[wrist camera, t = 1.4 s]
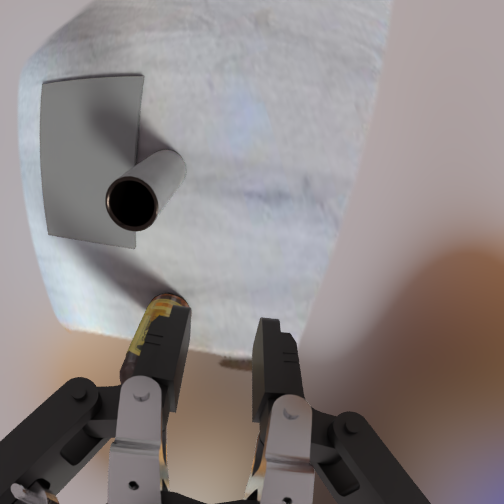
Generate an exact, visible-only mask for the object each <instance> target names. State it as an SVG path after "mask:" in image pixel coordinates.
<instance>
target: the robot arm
mask: <svg viewBox="0 0 504 504" xmlns="http://www.w3.org/2000/svg"><path fill="white" fill-rule="evenodd" d="M190 328H191V308H190V307H184V306H178V305H173V306H172V309H171V313H170V316H169V317H166V316H161V315H159V316H158V317H157V318H156V319H154V320H153V321H152V322H151V324H150V326H149V329H148V332H147V335H146V338H145V340H144V343H143V346H142V349H141V352H140V355H139V358H138V361H137V364H136V367H135V370H134V373H133V375H132V376H131V378H129V379H128V380H126V381H125V382H124V383H123V384H121V385H118V386H109V387H96V385H95V384H94V383H93V382H92V381H91V380H89V379H87V378H83V377H77V378H73V379H70V380H69V381H67V382H66V383H65V384H64V385H63V386H62V387H60V388H59V389H58V390H57V391H56V392H55V393H54V394H53V395H51V396H50V397H49V398H48V399H47V400H46V401H45V402H44V403H42V404H41V405H40V406H39V407H38V408H37V409H36V410H35V411H34V412H33V413H31V414H30V415H29V416H28V417H27V418H26V419H25V420H23V421H22V422H21V423H20V424H19V425H18V426H17V427H16V428H15V429H13V431H11V432H10V433H9V434H8V435H7V436H6V437H5V438H4V439H3V440H2V441H0V504H59V501H58V499H57V497H56V495H57V494H58V493H59V492H60V490H62V489H63V488H64V486H66V485H67V483H68V482H69V481H70V480H71V479H72V478H73V477H74V476H75V475H76V474H77V473H78V472H79V471H80V470H81V469H82V468H83V467H84V466H85V465H86V464H87V463H88V461H90V459H92V457H93V456H94V455H95V454H96V453H97V452H98V451H99V450H100V449H101V448H102V447H103V446H104V445H105V444H106V443H107V441H109V439H110V438H115V437H116V438H115V441H114V442H113V443H112V444H111V447H110V454H109V471H108V503H107V504H206V503H203V502H200V501H197V500H194V499H192V498H189V497H186V496H184V495H181V494H178V493H175V492H170V486H169V475H168V465H167V422H168V417H169V412H176V409H177V404H178V398H179V393H180V388H181V383H182V377H183V372H184V367H185V362H186V357H187V352H188V347H189V341H190ZM252 408H253V409H252V422H258V423H260V432H259V434H258V437H257V442H256V448H255V453H254V458H253V463H252V468H251V473H250V478H249V481H248V484H247V487H246V490H245V495H244V499H243V500H237V501H231V502H224V503H218V504H285V503H286V504H312V499H313V487H314V469H315V471H316V472H317V474H318V475H319V477H320V478H321V480H322V481H323V483H324V484H325V486H326V487H327V489H328V490H329V492H330V493H331V495H332V496H333V498H334V499H335V500H336V502H337V503H338V504H431V503H430V502H429V501H428V499H427V498H426V497H425V496H424V494H423V493H422V492H421V490H420V489H419V488H418V487H417V485H416V484H415V483H414V482H413V480H412V479H411V478H410V476H409V475H408V474H407V473H406V471H405V470H404V469H403V467H402V466H401V465H400V464H399V462H398V461H397V460H396V458H395V457H394V456H393V455H392V453H391V452H390V451H389V449H388V448H387V447H386V445H385V444H384V443H383V442H382V440H381V439H380V438H379V436H378V435H377V434H376V433H375V431H374V430H373V428H372V427H371V426H370V425H369V424H368V422H367V421H366V420H365V418H364V417H363V416H361V415H360V414H358V413H355V412H344V413H341V414H339V415H338V416H333V415H329V414H326V413H322V412H319V411H317V410H315V409H314V408H312V407H311V406H310V405H309V404H308V402H307V401H306V400H305V397H304V393H303V387H302V378H301V371H300V364H299V357H298V350H297V344H296V342H295V340H294V338H293V337H292V335H291V334H290V333H283V332H281V330H280V321H279V319H271V318H262V317H261V318H260V321H259V325H258V329H257V333H256V336H255V340H254V345H253V353H252ZM310 463H311V464H310Z"/></svg>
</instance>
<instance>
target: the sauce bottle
mask: <svg viewBox="0 0 504 504" xmlns="http://www.w3.org/2000/svg"><path fill="white" fill-rule="evenodd" d="M173 305H178V306H184V307H189V305H188V304H187V303H186V301H185V300H183V299H182V298H180V297H178V296H175V295H170V294H166V293H165V294H161V295H159V296H157V297H155V298H154V299H153V300H152V301H151V303H150V304H149V305H148V307H147V309H146V311H145V313H144V316H143V318H142V320H141V322H140V324H139V327H138V329H137V331H136V333H135V335H134V338H133V340H132V342H131V344H130V347H129V349H128V351H127V353H126V358H125V360H124V363H123V365H122V367H121V370H120V381H121V384H123V383H124V382H125V381H126V380H128V379H129V378H131V376H132V375H133V373H134V370H135V367H136V364H137V361H138V358H139V355H140V352H141V349H142V346H143V343H144V340H145V338H146V335H147V332H148V329H149V326H150V324H151V322H152V321H153V320H154V319H156V318H157V317H158V316H159V315H161V316H166V317H169V316H170V313H171V309H172V306H173Z"/></svg>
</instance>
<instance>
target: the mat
mask: <svg viewBox="0 0 504 504" xmlns="http://www.w3.org/2000/svg"><path fill="white" fill-rule="evenodd" d="M143 82H144V76H124V77H102V78H89V79H78V80H69V81H61V82H54V83H47V84H42V95H41V113H40V159H41V177H42V189H43V199H44V208H45V215H46V222H47V229H48V235H52V236H57V237H63V238H69V239H75V240H81V241H87V242H93V243H100V244H106V245H112V246H118V247H124V248H131V249H135V247H136V233H135V231H128V230H125V229H123V228H121V227H119V226H118V225H117V224H115V223H114V222H113V220H112V219H111V218H110V216H109V214H108V212H107V209H106V205H105V196H106V192H107V190H108V188H109V186H110V185H111V183H112V182H113V181H115V180H116V179H117V178H119V177H120V176H121V175H123V174H124V173H126V172H127V171H128V170H130V169H131V168H133V167H134V166H136V158H137V142H138V128H139V117H140V107H141V98H142V90H143Z"/></svg>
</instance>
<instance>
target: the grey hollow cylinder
mask: <svg viewBox="0 0 504 504" xmlns="http://www.w3.org/2000/svg"><path fill="white" fill-rule="evenodd" d="M185 176H186V165H185V162H184V160H183V159H182V157H181V156H180V155H179V154H177V153H176V152H174V151H171V150H161V151H158V152H156V153H154V154H152V155H151V156H149V157H148V158H146V159H145V160H143V161H142V162H140V163H139V164H137V165H136V166H134V167H133V168H131V169H130V170H128V171H127V172H126V173H124V174H123V175H121V176H120V177H119V178H117V179H116V180H115V181H113V182H112V183H111V185H110V186H109V188H108V190H107V192H106V196H105V205H106V209H107V212H108V214H109V216H110V218H111V219H112V220H113V222H114V223H115V224H117V225H118V226H119V227H121V228H123V229H125V230H128V231H142V230H145V229H147V228H148V227H150V226H151V225H152V224H153V223H154V221H155V220H156V219H157V217H158V216H159V214H160V213H161V212H162V210H163V209H164V207H165V206H166V204H167V203H168V202H169V200H170V199H171V198H172V196H173V195H174V193H175V192H176V191H177V189H178V188H179V187H180V185H181V184H182V182H183V181H184V179H185Z"/></svg>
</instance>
